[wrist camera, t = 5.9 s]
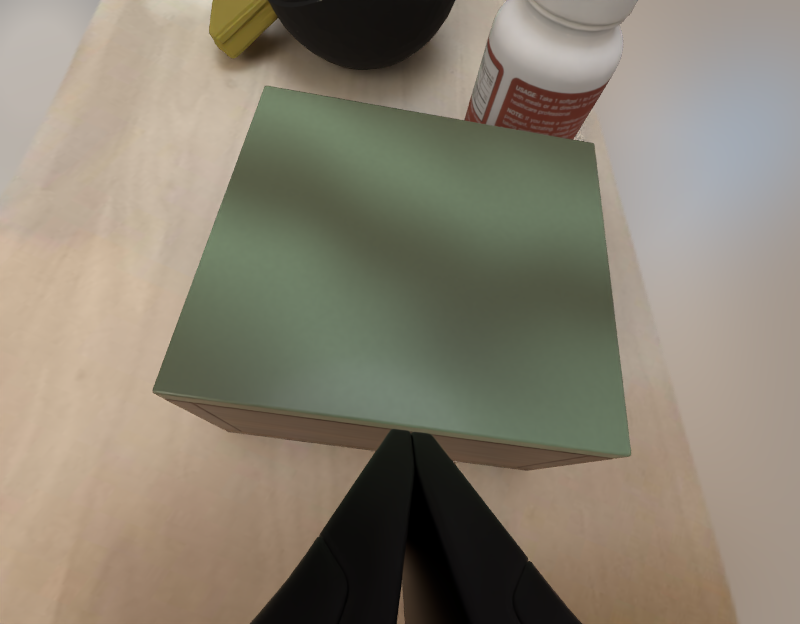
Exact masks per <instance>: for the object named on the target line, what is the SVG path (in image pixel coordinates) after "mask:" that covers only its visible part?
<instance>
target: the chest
mask: <svg viewBox="0 0 800 624" xmlns="http://www.w3.org/2000/svg"><path fill="white" fill-rule="evenodd" d="M165 400H167V401H169V402H171V403H173V404H175V405H177V406H179V407H181V408H183V409H185V410H187V411H188V412H190V413H192V414H194V415H196V416H198V417H200V418H202V419H204V420H206V421H208V422H210V423H212V424H214V425H216V426H218V427H220V428H222V429H224V430H226V431H228V432H234V433H241V434H249V435H257V436H265V437H272V438H280V439H288V440H295V441H303V442H311V443H319V444H326V445H334V446H342V447H350V448H357V449H365V450H373V451H376V450H377V449H378V447H379V446H380V444H381V443H382V442H383V440H384V439H385V437H386V436H387V434H388V433H389V431H390V430H391V429H389V428H381V427H374V426H366V425H359V424H351V423H344V422H336V421H329V420H321V419H314V418H306V417H298V416H291V415H283V414H276V413H268V412H261V411H253V410H246V409H238V408H231V407H223V406H216V405H208V404H200V403H193V402H185V401H178V400H170V399H165ZM409 432H410V433H412V431H409ZM431 435H432V436H433V437H434V438H435V439H436V441H437V442H438V443H439V445H440V446H441V447H442V448H443V450H444V451H445V452H446V453H447V455H448V456H449V457H450V459H451V460H452V461H458V462H466V463H473V464H481V465H489V466H496V467H504V468H512V469H520V470H534V469H542V468H549V467H557V466H564V465H572V464H579V463H587V462H594V461H602V460H609V459H614V458H608V457H600V456H593V455H585V454H577V453H570V452H562V451H555V450H547V449H540V448H532V447H525V446H517V445H510V444H502V443H495V442H487V441H479V440H472V439H464V438H457V437H449V436H442V435H434V434H431Z"/></svg>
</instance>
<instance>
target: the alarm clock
mask: <svg viewBox="0 0 800 624" xmlns="http://www.w3.org/2000/svg"><path fill="white" fill-rule="evenodd" d="M454 2H455V0H213V2H212V10H211V17H210V26H209V33H210V35H211V36H212V38H213V39H214V42H215V44H216V45H217V46H218V47H219V49H220V50H222V51H223V52H225V53H226V54H227V56H229V57H230V58H233V59H234V58H236V57H238V56H239V55H240V54H241V53H242V52H243V51H244V50H245V49H246V48H247V47H248V46H249V45H251V44H252V43H253V42H254V41H255V40H256V39H257V38H258V37H259V36H260V35H261V34H262V33H263V32H264V31H265V30H266V29H267V28H268V27H269V26H270V25H271V24H272V23H273V22H274V21H275V20H276V19H277V18H279V19H280V21H281V22H282V24H283V25H284V27H285V28H286V29H287V30H288V31H289V32H290V33H291V34H292V35H293V36H294V37H295V39H297V40H298V41H299V42H300V43H301V44H302V45H304V46H305V47H306V48H307V49H309V50H310V51H311V52H313V53H314V54H316V55H318V56H320V57H322V58H323V59H325V60H327V61H329V62H331V63H334V64H337V65H340V66H343V67H348V68H353V69H376V68H381V67H386V66H390V65H393V64H395V63H398V62H400V61H403V60H404V59H406V58H408V57H409V56H411V55H413V54H414V53H416V52H417V51H419V50H420V49H421V48H422V47H423V46H424V45H425V44H427V43H428V42H429V41H430V40H431V38H432V37H433V36H434V35H435V34H436V33H437V31H438V30H439V29H440V27H441V26H442V24H443V23H444V21H445V20H446V18H447V17H448V15H449V13H450V11H451V8H452V6H453V4H454Z"/></svg>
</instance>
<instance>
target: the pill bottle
mask: <svg viewBox="0 0 800 624" xmlns="http://www.w3.org/2000/svg"><path fill="white" fill-rule="evenodd" d="M637 1H638V0H506V1H505V3H504V4H503V5H502V6H501V7H500V9H499V10H498V12H497V14H496V16H495V18H494V21H493V24H492V28H491V30H490V34H489V37H488V41H487V44H486V48H485V51H484V55H483V58H482V62H481V65H480V68H479V71H478V75H477V79H476V82H475V85H474V89H473V92H472V96H471V99H470V102H469V106H468V109H467V113H466V116H465V120H464V121H470V122H476V123H481V124H487V125H493V126H498V127H504V128H510V129H515V130H521V131H527V132H532V133H538V134H544V135H549V136H555V137H561V138H566V139H572V140H573V139H574V137H575V136H576V134H577V132H578V131H579V129H580V128H581V126H582V124H583V123H584V121H585V119H586V118H587V116H588V114H589V113H590V111H591V110H592V108H593V106H594V105H595V103H596V102H597V100H598V98H599V97H600V95H601V93H602V92H603V90H604V88H605V87H606V85H607V83H608V82H609V80H610V78H611V77H612V75H613V73H614V71H615V69H616V68H617V66H618V64H619V62H620V59H621V56H622V51H623V35H622V31H621V28H620V24H621V23H622V22H623V21H624V20H625V18H626V17H627V16H629V15H630V13H631V12H632V10H633V8H634V6H635V5H636V3H637Z"/></svg>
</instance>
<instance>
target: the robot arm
mask: <svg viewBox="0 0 800 624" xmlns="http://www.w3.org/2000/svg"><path fill="white" fill-rule="evenodd" d="M527 561H528V558H527V556H526V555H525V554H524V552H523V551H522V550H521V548H520V547H519V546H518V545H517V543H516V542H515V541H514V539H513V538H512V537H511V536H510V534H509V533H508V532H507V530H506V529H505V528H504V527H503V525H502V524H501V523H500V521H499V520H498V519H497V518H496V516H495V515H494V514H493V512H492V511H491V510H490V509H489V507H488V506H487V505H486V504H485V502H484V501H483V500H482V498H481V497H480V496H479V495H478V493H477V492H476V491H475V489H474V488H473V487H472V486H471V484H470V483H469V482H468V480H467V479H466V478H465V477H464V475H463V474H462V473H461V471H460V470H459V469H458V468H457V466H456V465H455V464H454V462H453V461H452V460H451V459H450V457H449V456H448V455H447V453H446V452H445V451H444V450H443V448H442V447H441V446H440V445H439V443H438V442H437V441H436V439H435V438H434V437H433V436H432V435H431V434H430V433H423V432H415V431H414V432H412V433H410V432H409V431H408V430H400V429H391V430H390V431H389V433H388V434H387V436H386V437H385V439H384V440H383V442H382V443H381V444H380V446H379V447H378V449H377V450H376V452H375V453H374V455H373V456H372V458H371V459H370V461H369V462H368V464H367V465H366V467H365V468H364V470H363V471H362V473H361V474H360V475H359V477H358V478H357V480H356V481H355V483H354V484H353V486H352V487H351V489H350V490H349V492H348V493H347V495H346V496H345V498H344V499H343V501H342V502H341V504H340V505H339V506H338V508H337V509H336V511H335V512H334V514H333V515H332V517H331V518H330V520H329V521H328V523H327V524H326V526H325V527H324V529H323V530H322V532H321V533H320V535H319V537H318V538H317V539H316V540H315V541H314V543H313V544H312V546H311V547H310V549H309V550H308V552H307V553H306V555H305V556H304V557H303V559H302V560H301V562H300V563H299V564H298V566H297V567H296V568H295V570H294V571H293V572H292V574H291V575H290V577H289V578H288V579H287V581H286V582H285V583H284V584H283V585H282V586H281V588H280V589H279V590H278V591H277V592H276V594H275V595H274V596H273V597H272V598H271V600H270V601H269V602H268V603H267V604H266V606H265V607H264V608H263V609H262V610H261V611H260V613H259V614H258V615H257V616H256V617H255V618H254V619H253V621H252V622H251V623H250V624H397V616H398V608H399V600H400V592H401V584H402V587H403V602H404V617H405V624H582V623H581V622H580V621H579V620H578V619H577V617H576V616H575V615H574V614H573V613H572V612H571V611H570V610H569V608H568V607H567V606H566V605H565V603H564V602H563V601H562V600H561V599H560V597H559V596H558V595H557V594H556V592H555V591H554V590H553V589H552V588H551V586H550V585H549V584H548V583H547V581H546V580H545V579H544V578H543V576H542V575H541V574H540V573H539V571H538V570H537V569H536V567H535V566H534V565H533V564H532V562H530V561H528V562H527Z"/></svg>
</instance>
